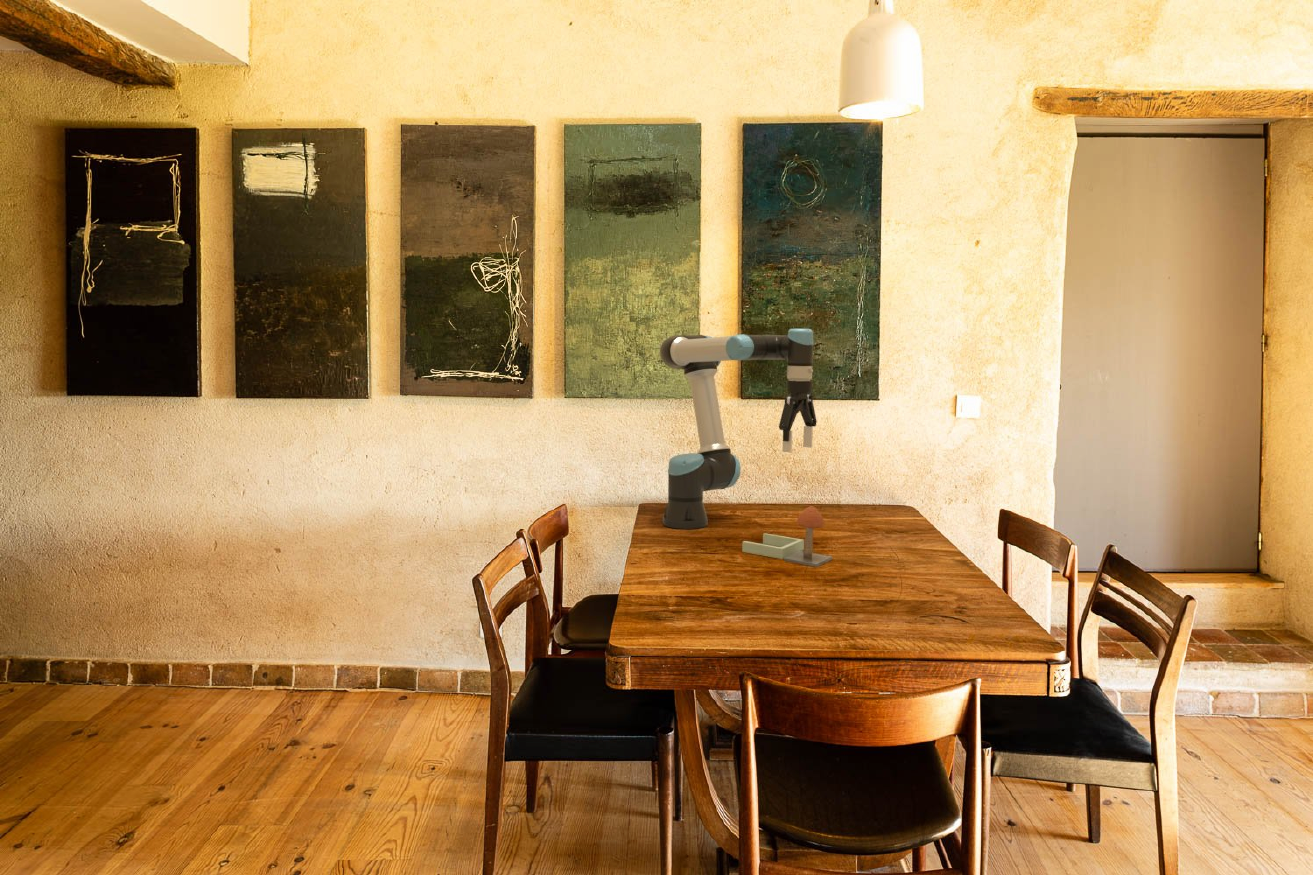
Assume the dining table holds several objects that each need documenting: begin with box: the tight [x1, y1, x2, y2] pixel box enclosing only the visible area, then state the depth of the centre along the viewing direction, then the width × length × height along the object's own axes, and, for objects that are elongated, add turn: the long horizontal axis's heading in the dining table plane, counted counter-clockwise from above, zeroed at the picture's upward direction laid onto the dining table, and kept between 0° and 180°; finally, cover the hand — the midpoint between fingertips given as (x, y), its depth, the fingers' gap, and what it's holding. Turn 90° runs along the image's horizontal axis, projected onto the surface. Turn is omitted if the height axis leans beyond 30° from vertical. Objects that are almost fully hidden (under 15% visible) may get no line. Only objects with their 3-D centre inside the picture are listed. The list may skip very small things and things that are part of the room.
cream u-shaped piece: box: [741, 533, 805, 560], centre depth 244 cm, size 13×13×3 cm
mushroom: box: [795, 505, 825, 558], centre depth 233 cm, size 8×8×15 cm
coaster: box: [783, 550, 833, 568], centre depth 234 cm, size 10×10×1 cm
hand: (797, 449), depth 251 cm, fingers open, 13 cm apart
